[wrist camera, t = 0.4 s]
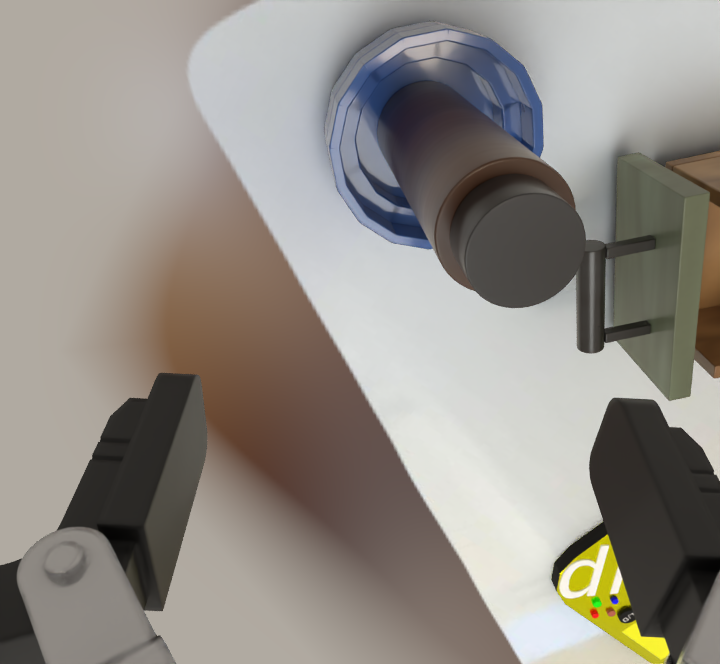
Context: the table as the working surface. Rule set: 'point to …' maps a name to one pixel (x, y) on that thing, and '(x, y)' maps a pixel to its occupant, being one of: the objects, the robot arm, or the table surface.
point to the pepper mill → (481, 197)
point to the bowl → (395, 71)
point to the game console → (602, 593)
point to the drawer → (659, 271)
